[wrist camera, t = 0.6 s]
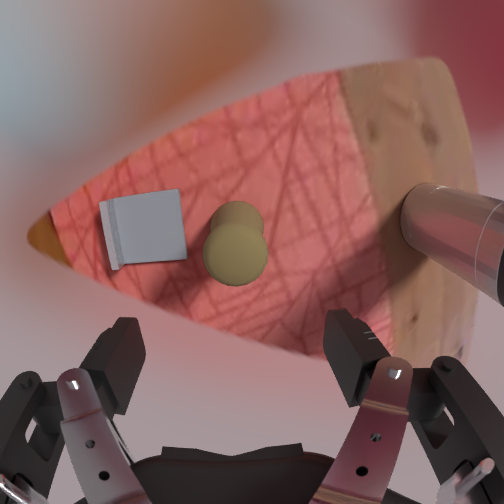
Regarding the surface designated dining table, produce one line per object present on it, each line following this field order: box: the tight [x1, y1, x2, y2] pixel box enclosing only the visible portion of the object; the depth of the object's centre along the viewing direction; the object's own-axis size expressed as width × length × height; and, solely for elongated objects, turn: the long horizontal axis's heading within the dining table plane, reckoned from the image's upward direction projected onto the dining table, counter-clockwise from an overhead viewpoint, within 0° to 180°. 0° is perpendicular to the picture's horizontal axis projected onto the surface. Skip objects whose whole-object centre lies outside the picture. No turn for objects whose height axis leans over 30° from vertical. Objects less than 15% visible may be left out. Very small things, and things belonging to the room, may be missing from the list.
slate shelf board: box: [114, 189, 188, 264], centre depth 30 cm, size 8×8×1 cm
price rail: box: [99, 198, 125, 270], centre depth 29 cm, size 1×8×2 cm, turn 4°
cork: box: [203, 201, 268, 286], centre depth 25 cm, size 6×6×11 cm
